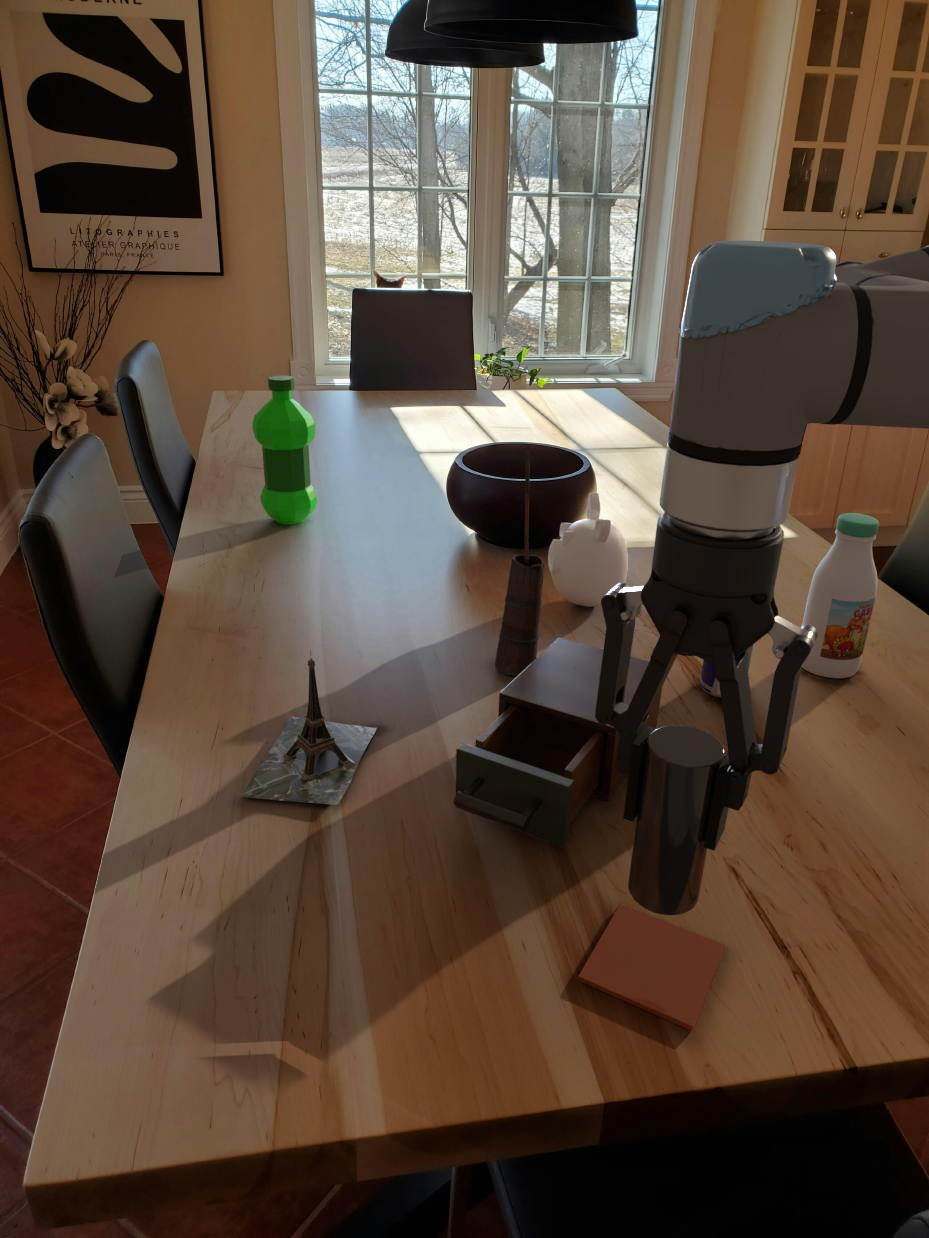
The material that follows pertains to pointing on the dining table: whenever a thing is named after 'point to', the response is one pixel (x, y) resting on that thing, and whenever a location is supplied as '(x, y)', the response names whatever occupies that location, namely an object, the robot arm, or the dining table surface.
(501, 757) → the drawer
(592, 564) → the piggy bank
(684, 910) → the dark grey cylinder
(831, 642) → the milk bottle
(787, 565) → the dining table surface
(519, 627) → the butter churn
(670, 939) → the coaster
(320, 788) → the eiffel tower figurine
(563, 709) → the cabinet
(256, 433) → the plastic bottle
